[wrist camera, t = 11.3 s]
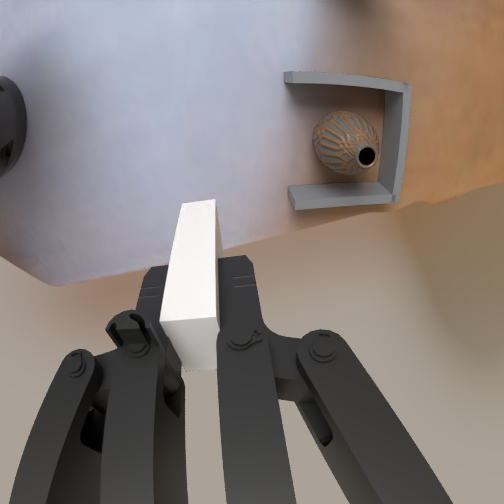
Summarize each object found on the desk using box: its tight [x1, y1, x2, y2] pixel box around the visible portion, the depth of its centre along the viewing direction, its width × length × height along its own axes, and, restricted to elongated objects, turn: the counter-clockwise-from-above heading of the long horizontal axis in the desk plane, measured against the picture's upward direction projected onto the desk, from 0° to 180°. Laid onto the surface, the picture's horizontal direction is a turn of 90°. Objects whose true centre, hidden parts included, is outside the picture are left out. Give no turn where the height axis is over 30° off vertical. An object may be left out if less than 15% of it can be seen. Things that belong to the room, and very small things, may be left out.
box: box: [284, 72, 412, 210], centre depth 28 cm, size 14×15×4 cm
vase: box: [313, 111, 379, 175], centre depth 26 cm, size 7×7×9 cm
